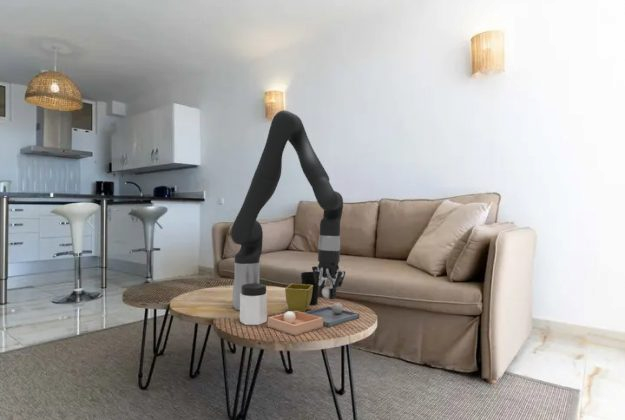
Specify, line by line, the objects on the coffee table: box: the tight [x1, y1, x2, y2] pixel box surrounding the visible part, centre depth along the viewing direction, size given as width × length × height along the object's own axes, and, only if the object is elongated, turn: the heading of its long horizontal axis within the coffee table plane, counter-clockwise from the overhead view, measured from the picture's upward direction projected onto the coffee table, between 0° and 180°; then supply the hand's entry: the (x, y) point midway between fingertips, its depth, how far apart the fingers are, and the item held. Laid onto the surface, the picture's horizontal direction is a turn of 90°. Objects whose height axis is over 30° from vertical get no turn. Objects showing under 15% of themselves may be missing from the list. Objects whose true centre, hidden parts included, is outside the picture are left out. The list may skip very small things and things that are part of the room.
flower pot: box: [284, 283, 313, 312], centre depth 146 cm, size 9×9×9 cm
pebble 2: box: [331, 302, 344, 314], centre depth 140 cm, size 4×4×4 cm
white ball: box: [283, 310, 296, 324], centre depth 128 cm, size 4×4×4 cm
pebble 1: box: [322, 285, 330, 299], centre depth 137 cm, size 4×4×4 cm
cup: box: [300, 271, 319, 306], centre depth 158 cm, size 8×8×12 cm
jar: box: [239, 283, 268, 326], centre depth 131 cm, size 9×8×12 cm
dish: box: [267, 311, 324, 337], centre depth 126 cm, size 12×12×3 cm
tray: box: [303, 305, 360, 328], centre depth 137 cm, size 14×16×2 cm
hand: (327, 297), depth 137 cm, fingers closed on pebble 1, 4 cm apart
